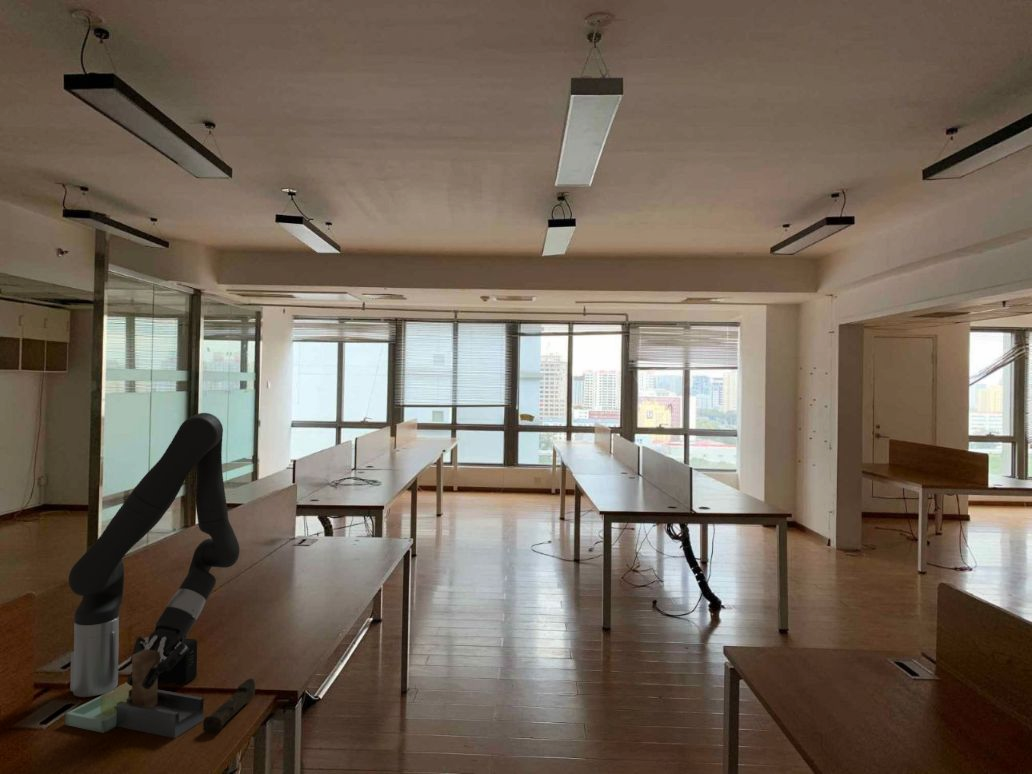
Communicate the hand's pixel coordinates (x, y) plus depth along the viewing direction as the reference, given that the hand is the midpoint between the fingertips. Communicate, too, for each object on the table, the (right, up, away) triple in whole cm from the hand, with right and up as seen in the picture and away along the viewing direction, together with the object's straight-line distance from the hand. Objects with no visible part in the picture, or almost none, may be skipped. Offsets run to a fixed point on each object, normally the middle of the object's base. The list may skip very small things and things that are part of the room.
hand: (137, 685), depth 143 cm
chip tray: (-8, -8, +5) cm, 13 cm away
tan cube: (-6, -6, +4) cm, 9 cm away
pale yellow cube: (-4, -5, +3) cm, 7 cm away
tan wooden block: (0, -5, +2) cm, 6 cm away
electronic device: (-4, -9, +22) cm, 24 cm away
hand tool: (+18, -9, +6) cm, 21 cm away
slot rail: (+5, -9, +1) cm, 10 cm away
